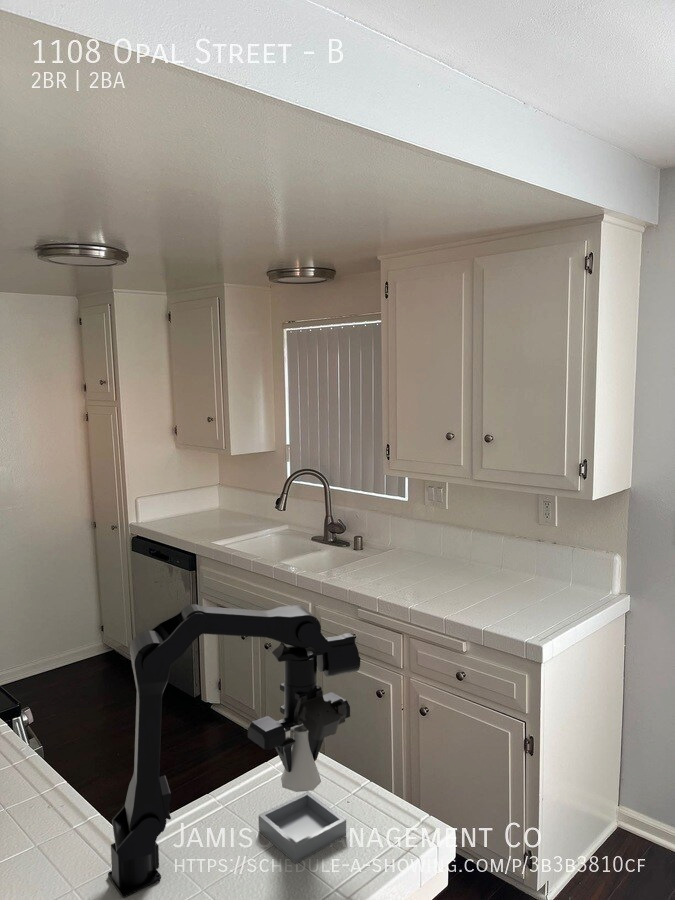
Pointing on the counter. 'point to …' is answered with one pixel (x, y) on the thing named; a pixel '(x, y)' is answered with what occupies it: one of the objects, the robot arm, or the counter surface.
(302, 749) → the flask
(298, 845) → the box
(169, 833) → the counter surface
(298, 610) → the robot arm
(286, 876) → the counter surface
